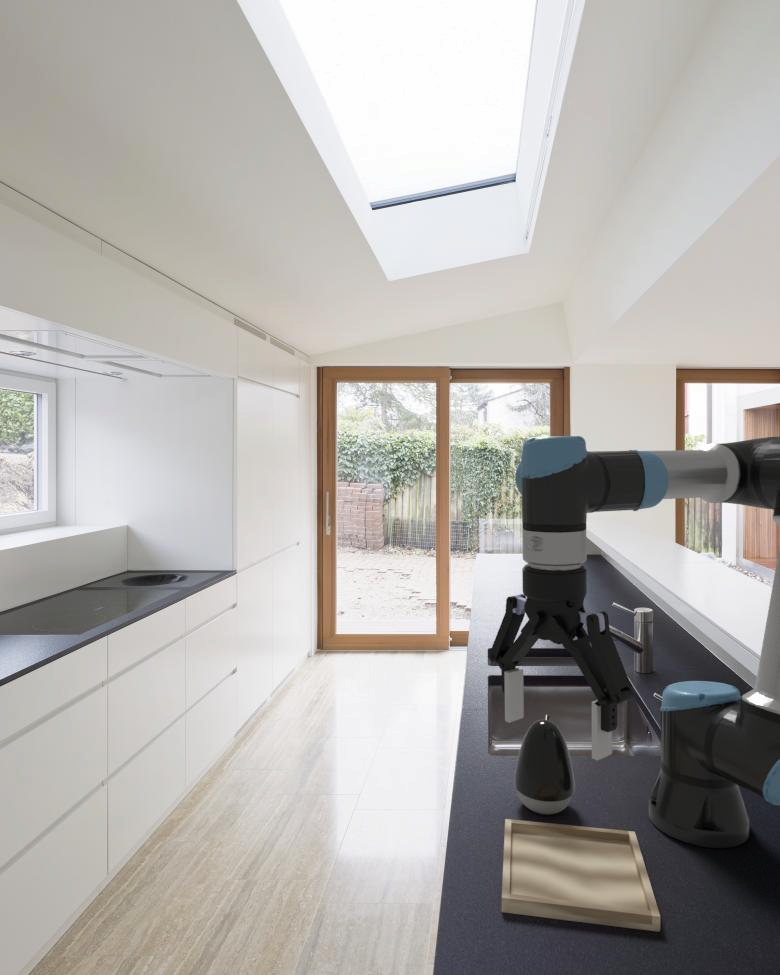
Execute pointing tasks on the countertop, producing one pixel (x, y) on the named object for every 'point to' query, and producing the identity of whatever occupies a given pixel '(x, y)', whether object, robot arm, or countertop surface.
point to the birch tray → (577, 875)
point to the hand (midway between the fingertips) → (555, 736)
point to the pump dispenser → (544, 769)
